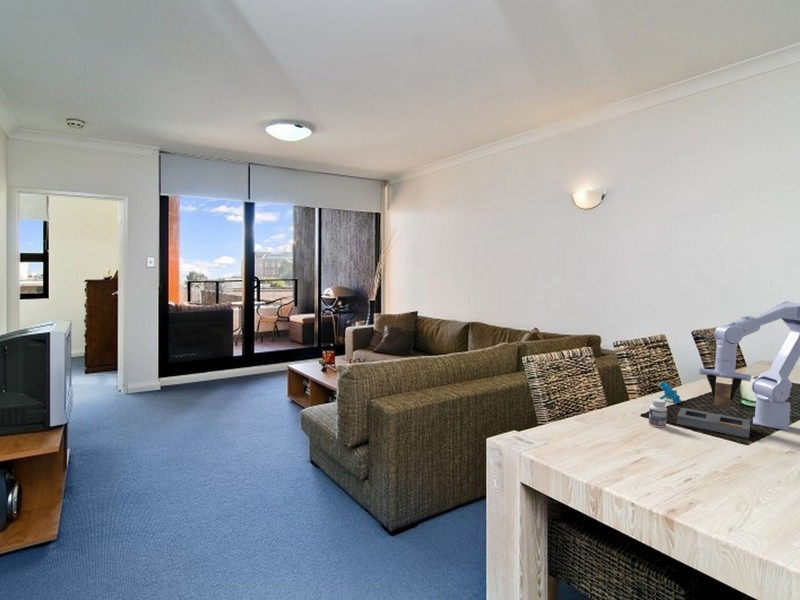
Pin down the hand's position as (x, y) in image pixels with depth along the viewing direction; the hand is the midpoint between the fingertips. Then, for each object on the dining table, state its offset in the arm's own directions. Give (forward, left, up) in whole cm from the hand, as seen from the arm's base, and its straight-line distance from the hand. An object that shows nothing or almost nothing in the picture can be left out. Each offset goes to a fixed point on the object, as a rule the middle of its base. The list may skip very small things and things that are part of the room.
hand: (722, 397), depth 157 cm
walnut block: (0, 0, -2) cm, 2 cm away
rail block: (+2, +5, -9) cm, 11 cm away
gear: (+18, -19, -10) cm, 28 cm away
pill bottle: (+17, +17, -10) cm, 26 cm away
